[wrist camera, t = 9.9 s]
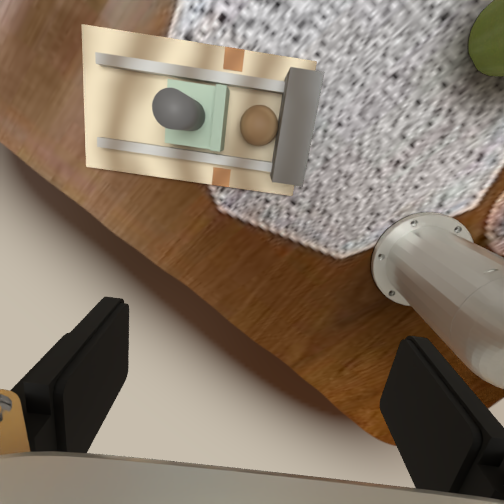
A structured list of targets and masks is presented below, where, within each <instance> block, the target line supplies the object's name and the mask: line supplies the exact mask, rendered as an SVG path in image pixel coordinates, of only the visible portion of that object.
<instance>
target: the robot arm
mask: <svg viewBox="0 0 504 504" xmlns="http://www.w3.org/2000/svg"><path fill="white" fill-rule="evenodd" d="M411 221H413V222H412V223H411ZM379 254H381V255H380V256H378V255H379ZM371 270H372V275H373V279H374V281H375V283H376V285H377V287H378V288H379V289H380V290H381V292H382V293H383V294H384V295H385V296H386V297H387V298H389V299H391V300H392V301H394V302H396V303H399V304H402V305H406V306H411V307H412V308H413V309H414V310H415V311H416V312H417V313H418V314H419V315H420V316H421V317H422V318H423V320H424V321H425V322H426V323H427V324H428V325H429V326H430V327H431V328H432V329H433V330H434V332H435V333H436V334H437V335H438V336H439V337H440V338H441V339H442V340H443V341H444V342H445V343H446V345H447V346H448V347H449V348H450V349H451V350H452V351H453V352H454V353H455V354H456V355H457V357H458V358H460V360H461V361H462V362H463V363H464V364H465V365H466V366H467V367H468V368H469V369H470V370H471V371H472V372H473V373H475V374H476V375H477V376H479V377H480V378H481V379H483V380H484V381H486V382H488V383H490V384H492V385H494V386H496V387H499V388H502V389H504V258H503V257H501V256H499V255H497V254H495V253H493V252H491V251H489V250H487V249H485V248H483V247H481V246H478V245H476V244H474V243H473V239H472V237H471V235H470V233H469V231H468V230H467V229H466V228H465V226H464V225H462V224H461V223H460V222H459V221H458V220H456V219H453V218H451V217H449V216H447V215H444V214H441V213H434V212H426V213H418V214H414V215H410V216H408V217H406V218H403V219H401V220H400V221H398V222H397V223H395V224H393V225H392V226H391V227H390V228H389V229H388V230H387V231H386V232H385V233H384V234H383V235H382V237H381V238H380V239H379V241H378V243H377V245H376V246H375V249H374V252H373V255H372V261H371ZM128 350H129V305H128V304H125V303H124V300H123V299H120V298H112V297H104V298H103V299H102V300H101V301H100V302H99V303H98V304H97V305H96V306H95V307H94V308H93V309H92V310H91V311H90V312H89V313H88V314H87V316H86V317H85V318H84V319H83V320H82V321H81V322H80V323H79V324H78V325H77V326H76V327H75V328H74V329H73V330H72V331H71V332H70V333H67V334H65V335H64V336H63V337H62V338H61V339H60V340H59V341H58V342H57V343H56V344H55V345H54V346H53V347H52V348H51V349H50V350H49V351H48V352H47V353H46V354H45V355H44V356H43V358H41V360H40V361H39V362H38V363H37V364H36V365H35V366H34V367H33V368H32V369H31V370H30V371H29V372H28V373H27V374H26V375H25V376H24V377H23V378H22V379H21V380H20V381H19V382H18V383H17V384H16V385H15V386H14V388H13V389H11V390H10V391H9V390H4V389H0V504H504V428H503V426H502V425H501V424H500V423H499V422H498V420H497V419H496V418H495V417H494V416H493V415H492V413H491V412H490V411H489V410H488V409H487V408H486V406H485V405H484V404H483V403H482V402H481V401H480V399H479V398H478V397H477V396H476V395H475V393H474V392H473V391H472V390H471V389H470V388H469V386H468V385H467V384H466V383H465V382H464V381H463V379H462V378H461V377H460V376H459V375H458V374H457V372H456V371H455V370H454V369H453V368H452V367H451V365H450V364H449V363H448V362H447V361H446V359H445V358H444V357H443V356H442V355H441V354H440V352H439V351H438V350H437V349H436V348H435V347H434V345H433V344H432V343H431V342H430V341H429V340H428V339H427V338H423V337H415V336H408V337H407V338H406V339H403V340H402V341H401V342H400V345H399V347H398V350H397V353H396V356H395V359H394V362H393V365H392V368H391V370H390V373H389V376H388V379H387V382H386V385H385V388H384V391H383V393H382V396H381V399H380V410H381V413H382V415H383V417H384V419H385V421H386V424H387V426H388V428H389V430H390V432H391V435H392V437H393V439H394V441H395V443H396V445H397V448H398V450H399V452H400V454H401V456H402V459H403V461H404V463H405V465H406V467H407V470H408V472H409V474H410V476H411V478H412V481H413V482H414V485H415V487H416V488H408V487H400V486H391V485H383V484H374V483H366V482H357V481H349V480H340V479H331V478H321V477H313V476H304V475H295V474H286V473H277V472H268V471H259V470H250V469H241V468H231V467H222V466H213V465H203V464H192V463H184V462H175V461H165V460H156V459H146V458H134V457H125V456H114V455H103V454H90V453H87V451H88V449H89V448H90V446H91V444H92V442H93V440H94V438H95V436H96V434H97V433H98V431H99V429H100V427H101V425H102V423H103V421H104V420H105V418H106V415H107V414H108V412H109V410H110V408H111V406H112V405H113V403H114V401H115V399H116V397H117V395H118V393H119V392H120V390H121V388H122V386H123V384H124V382H125V380H126V377H127V374H128Z"/></svg>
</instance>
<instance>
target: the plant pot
mask: <svg viewBox="0 0 504 504" xmlns="http://www.w3.org/2000/svg"><path fill="white" fill-rule="evenodd" d="M468 49H469V55H470V57H471V59H472V61H473V63H474V65H475V67H476V68H477V70H479V71H480V72H481V73H483V74H486V75H488V76H504V0H494V1H493V2H491V3H490V4H489V5H488V6H487V7H486V8H485V9H484V10H483V11H482V12H481V13H480V15H479V16H478V18H477V19H476V21H475V23H474V25H473V27H472V29H471V32H470V37H469V44H468Z"/></svg>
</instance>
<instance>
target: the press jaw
mask: <svg viewBox="0 0 504 504" xmlns="http://www.w3.org/2000/svg"><path fill="white" fill-rule="evenodd" d="M229 95H230V90H229V89H228V87H227V85H221V84H216V86H211V85H205V84H198V83H192V82H185V81H179V80H172V79H168V81H167V88H164V89H162V90H160V91H159V92H158V93H157V94H156V95H155V97H154V99H153V102H152V111H153V115H154V117H155V119H156V120H157V122H158V123H159V124H160V125H161V126H163V127H165V143H170V144H177V145H184V146H191V147H198V148H204V149H210V150H211V151H218V152H221V151H223V150H224V143H225V133H226V124H227V114H228V105H229Z"/></svg>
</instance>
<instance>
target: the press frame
mask: <svg viewBox="0 0 504 504" xmlns="http://www.w3.org/2000/svg"><path fill="white" fill-rule="evenodd" d="M82 50H83V82H84V114H85V146H86V167H92V168H99V169H106V170H113V171H120V172H127V173H134V174H141V175H148V176H155V177H162V178H169V179H176V180H183V181H190V182H197V183H204V184H211V185H217V186H224V187H232V188H239V189H246V190H253V191H260V192H267V193H274V194H281V195H288V196H292V195H293V190H294V185H296V186H303V181H304V176H305V171H306V166H307V160H308V155H309V150H310V145H311V139H312V134H313V129H314V124H315V119H316V113H317V108H318V103H319V98H320V92H321V87H322V82H323V77H324V72H320V71H315V69H316V63H317V61H311V60H304V59H298V58H292V57H285V56H279V55H273V54H266V53H260V52H254V51H248V50H243V49H236V48H230V47H222V46H216V45H210V44H203V43H197V42H191V41H184V40H178V39H172V38H166V37H159V36H153V35H147V34H140V33H134V32H128V31H121V30H115V29H109V28H102V27H96V26H90V25H84V24H82ZM168 79H172V80H179V81H185V82H192V83H198V84H205V85H211V86H216V84H221V85H227V87H228V89H229V90H230V95H229V105H228V114H227V124H226V133H225V143H224V150H223V151H221V152H218V151H211V150H210V149H204V148H198V147H191V146H184V145H177V144H170V143H165V127H163V126H161V125H160V124H159V123H158V122H157V120H156V119H155V117H154V115H153V111H152V102H153V99H154V97H155V95H156V94H157V93H158V92H159V91H160V90H162V89H164V88H167V81H168Z"/></svg>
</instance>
